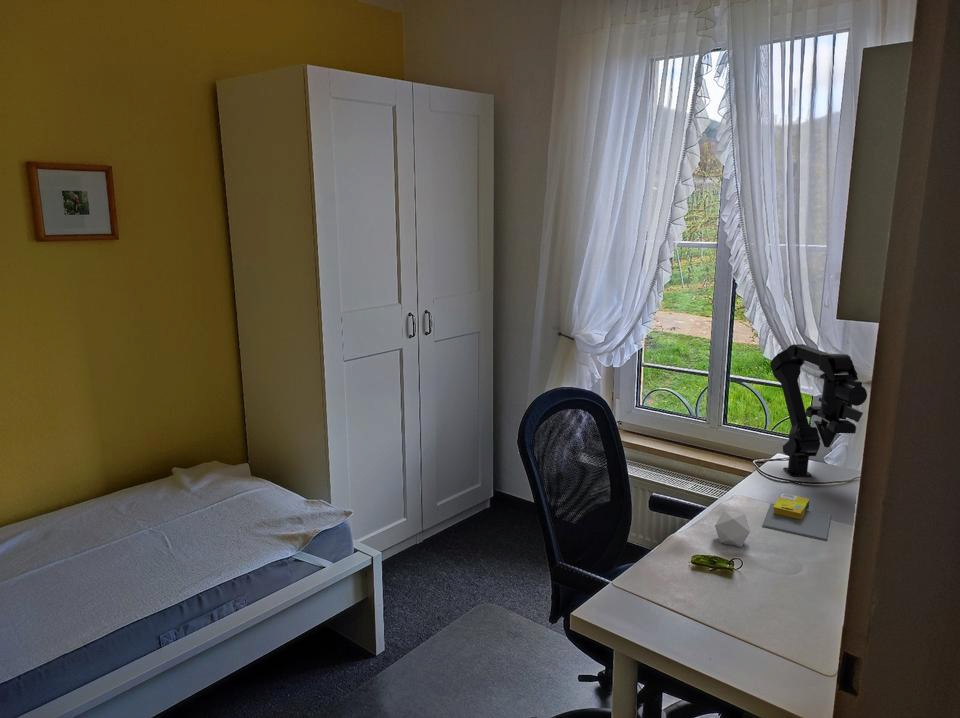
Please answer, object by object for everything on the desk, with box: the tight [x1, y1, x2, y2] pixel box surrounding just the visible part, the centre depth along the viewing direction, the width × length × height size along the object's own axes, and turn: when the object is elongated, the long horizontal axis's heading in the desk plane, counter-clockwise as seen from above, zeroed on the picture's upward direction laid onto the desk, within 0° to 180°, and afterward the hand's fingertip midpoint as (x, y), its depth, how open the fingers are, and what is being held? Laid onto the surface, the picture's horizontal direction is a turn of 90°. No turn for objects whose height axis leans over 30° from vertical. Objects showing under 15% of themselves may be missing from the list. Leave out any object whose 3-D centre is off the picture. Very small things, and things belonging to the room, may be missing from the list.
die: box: [714, 509, 751, 548], centre depth 172 cm, size 8×9×10 cm
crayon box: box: [773, 492, 810, 520], centre depth 190 cm, size 7×3×12 cm
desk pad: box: [761, 503, 832, 542], centre depth 185 cm, size 16×15×1 cm
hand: (826, 447), depth 206 cm, fingers closed
